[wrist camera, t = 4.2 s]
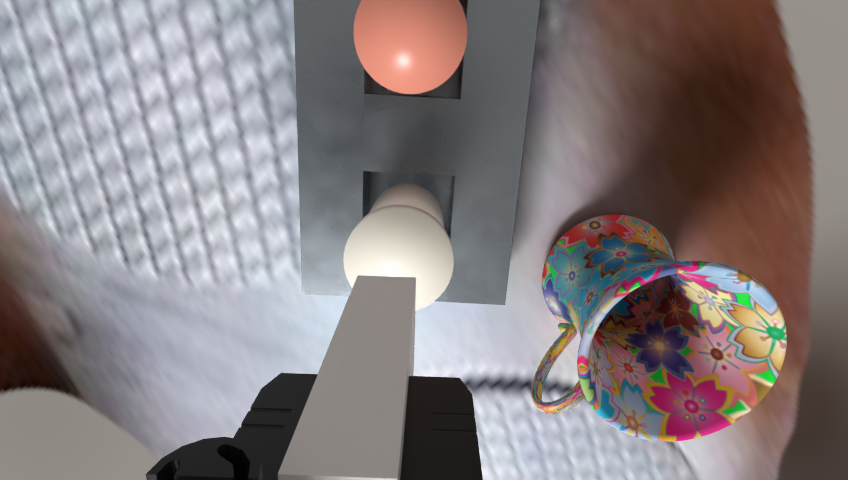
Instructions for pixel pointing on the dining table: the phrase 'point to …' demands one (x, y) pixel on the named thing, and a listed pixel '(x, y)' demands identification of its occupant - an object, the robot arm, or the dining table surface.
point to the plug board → (413, 142)
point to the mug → (657, 332)
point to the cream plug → (403, 242)
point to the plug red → (410, 42)
